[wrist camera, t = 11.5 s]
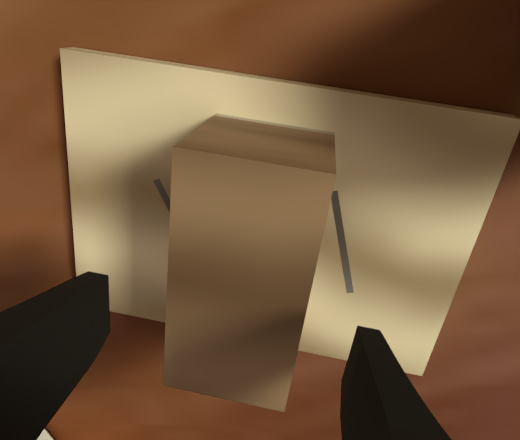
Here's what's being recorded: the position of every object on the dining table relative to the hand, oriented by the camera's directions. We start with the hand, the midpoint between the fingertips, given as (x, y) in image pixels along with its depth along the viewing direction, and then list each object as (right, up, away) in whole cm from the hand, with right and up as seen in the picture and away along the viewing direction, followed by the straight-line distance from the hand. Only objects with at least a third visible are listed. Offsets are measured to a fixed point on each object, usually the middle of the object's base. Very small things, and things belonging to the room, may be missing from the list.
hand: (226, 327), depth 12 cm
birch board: (+1, +3, +7) cm, 7 cm away
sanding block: (+1, +3, +6) cm, 6 cm away
